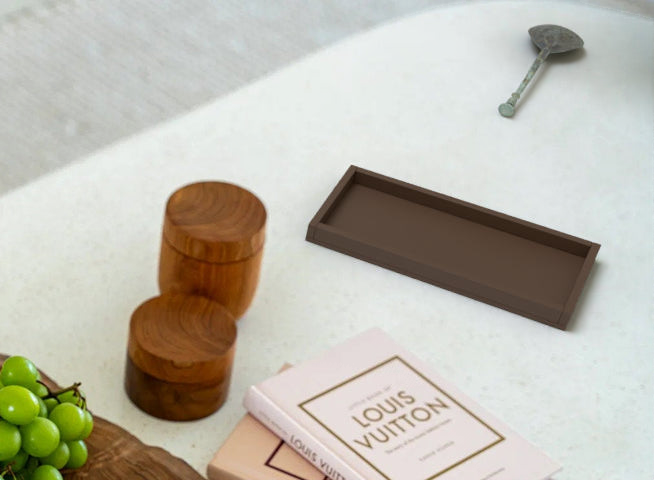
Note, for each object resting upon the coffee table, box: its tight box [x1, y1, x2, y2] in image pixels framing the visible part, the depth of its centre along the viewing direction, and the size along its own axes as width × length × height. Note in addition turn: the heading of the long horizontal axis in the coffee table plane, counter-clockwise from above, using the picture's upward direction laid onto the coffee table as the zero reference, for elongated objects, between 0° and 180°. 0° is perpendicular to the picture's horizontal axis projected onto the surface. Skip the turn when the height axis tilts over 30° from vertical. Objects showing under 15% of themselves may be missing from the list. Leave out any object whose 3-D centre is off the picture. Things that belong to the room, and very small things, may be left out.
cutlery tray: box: [304, 164, 602, 331], centre depth 111 cm, size 25×12×2 cm, turn 59°
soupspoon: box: [497, 23, 585, 117], centre depth 133 cm, size 22×3×7 cm
